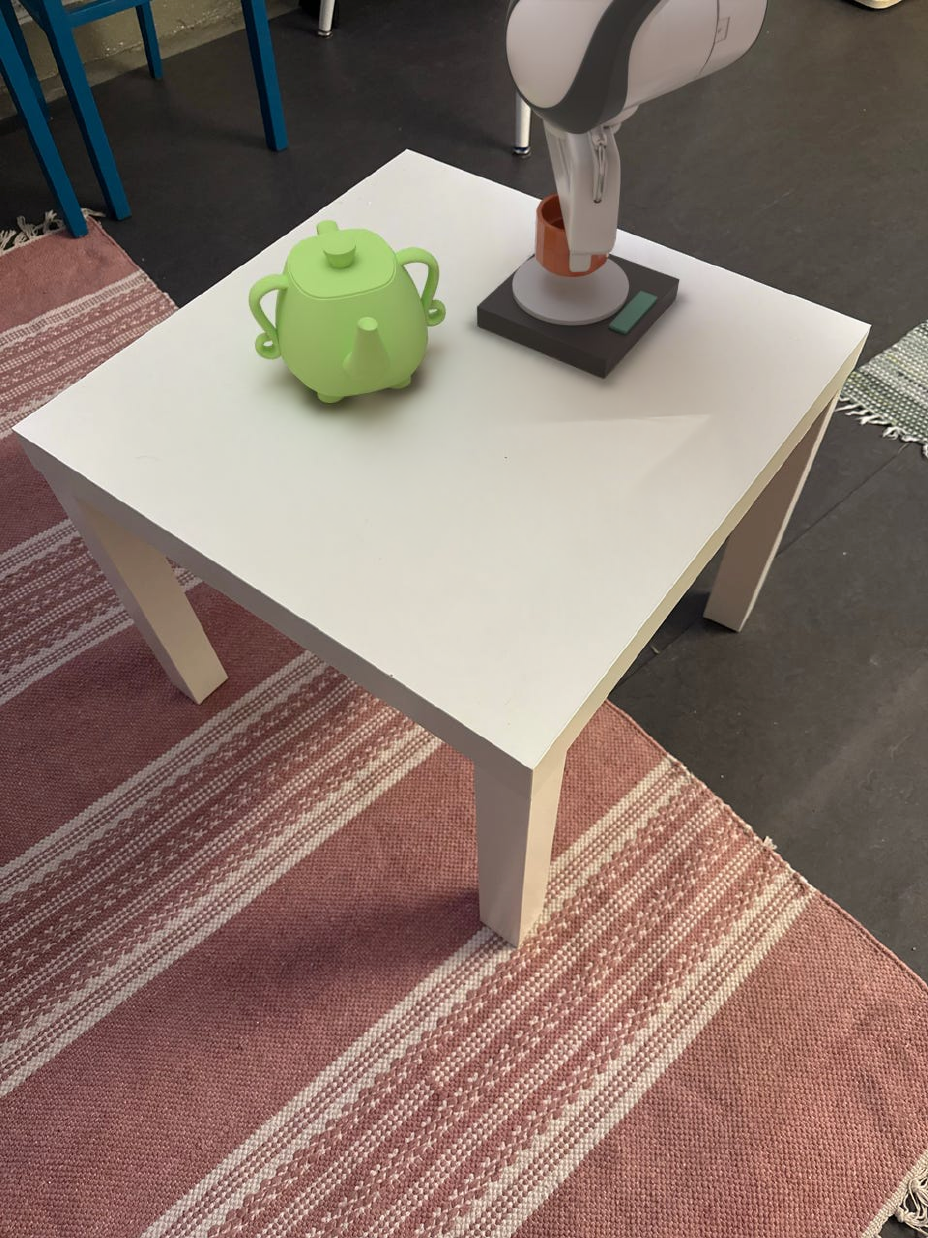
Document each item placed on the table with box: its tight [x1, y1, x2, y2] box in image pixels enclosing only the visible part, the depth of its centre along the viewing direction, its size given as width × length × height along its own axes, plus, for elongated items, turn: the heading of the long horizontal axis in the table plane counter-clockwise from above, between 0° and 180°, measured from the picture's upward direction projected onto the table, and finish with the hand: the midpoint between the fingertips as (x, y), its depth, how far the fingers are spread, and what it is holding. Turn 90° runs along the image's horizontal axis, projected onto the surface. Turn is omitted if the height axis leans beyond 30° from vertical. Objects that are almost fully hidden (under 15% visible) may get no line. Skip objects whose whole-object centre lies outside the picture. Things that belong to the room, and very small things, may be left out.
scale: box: [476, 252, 680, 380], centre depth 88 cm, size 14×14×3 cm
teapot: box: [248, 219, 447, 404], centre depth 80 cm, size 16×14×13 cm
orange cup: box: [533, 192, 610, 277], centre depth 83 cm, size 7×7×5 cm
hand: (572, 239), depth 83 cm, fingers closed on orange cup, 7 cm apart
